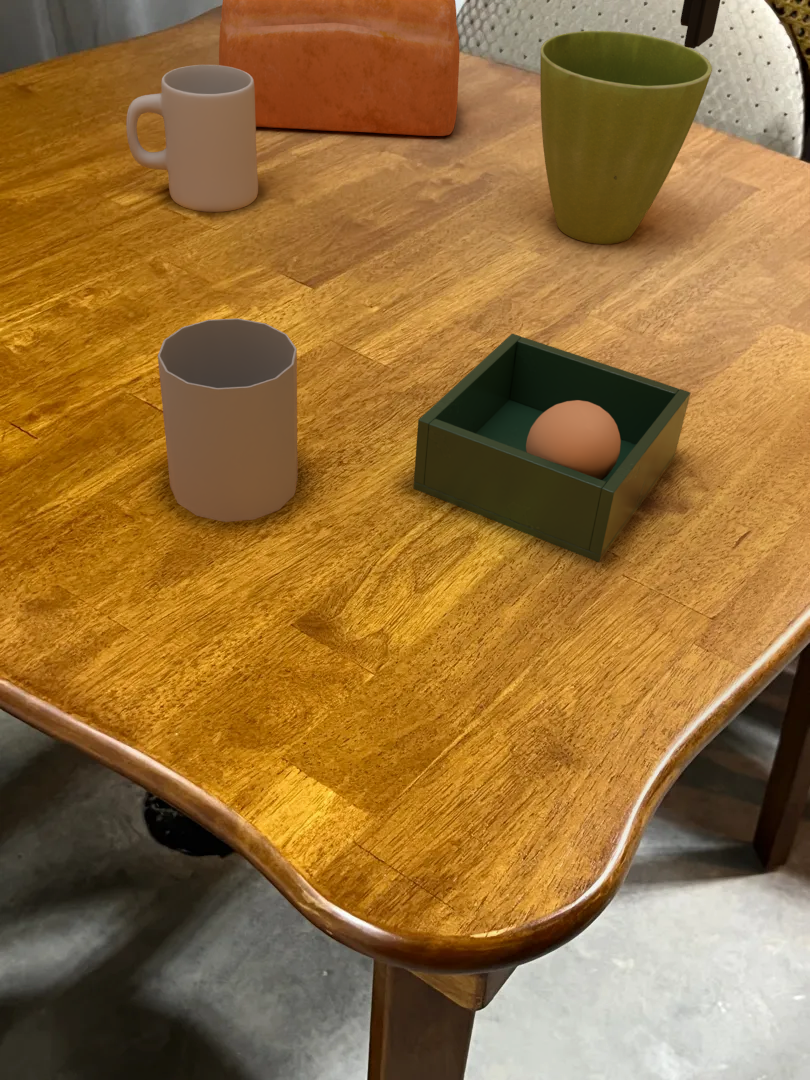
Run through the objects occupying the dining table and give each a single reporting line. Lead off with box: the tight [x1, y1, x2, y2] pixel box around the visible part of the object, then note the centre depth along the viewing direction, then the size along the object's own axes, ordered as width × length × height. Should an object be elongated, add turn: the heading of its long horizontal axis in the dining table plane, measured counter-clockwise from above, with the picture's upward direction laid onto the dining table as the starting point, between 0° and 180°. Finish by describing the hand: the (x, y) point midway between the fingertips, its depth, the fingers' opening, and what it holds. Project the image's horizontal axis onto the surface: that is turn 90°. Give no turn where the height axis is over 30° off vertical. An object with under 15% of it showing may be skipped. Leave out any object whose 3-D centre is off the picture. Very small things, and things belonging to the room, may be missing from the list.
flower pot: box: [539, 30, 713, 245], centre depth 106 cm, size 15×15×16 cm
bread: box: [218, 0, 460, 137], centre depth 126 cm, size 14×26×16 cm, turn 90°
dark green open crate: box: [412, 333, 691, 563], centre depth 78 cm, size 14×14×6 cm
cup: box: [157, 317, 299, 523], centre depth 74 cm, size 8×8×10 cm
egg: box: [526, 400, 621, 480], centre depth 74 cm, size 6×6×8 cm
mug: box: [125, 64, 259, 213], centre depth 109 cm, size 12×8×11 cm
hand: (782, 59), depth 63 cm, fingers open, 9 cm apart
